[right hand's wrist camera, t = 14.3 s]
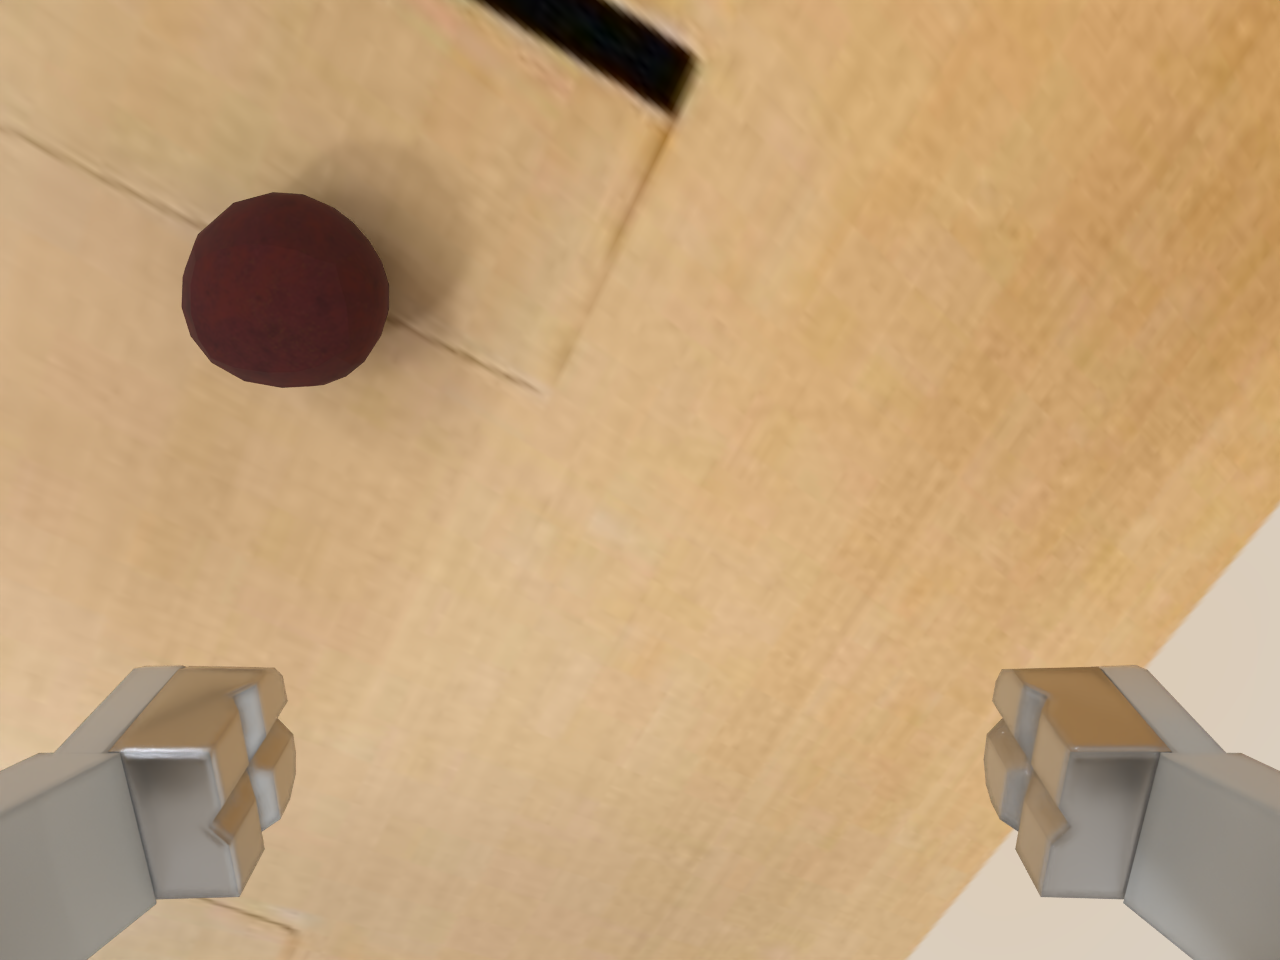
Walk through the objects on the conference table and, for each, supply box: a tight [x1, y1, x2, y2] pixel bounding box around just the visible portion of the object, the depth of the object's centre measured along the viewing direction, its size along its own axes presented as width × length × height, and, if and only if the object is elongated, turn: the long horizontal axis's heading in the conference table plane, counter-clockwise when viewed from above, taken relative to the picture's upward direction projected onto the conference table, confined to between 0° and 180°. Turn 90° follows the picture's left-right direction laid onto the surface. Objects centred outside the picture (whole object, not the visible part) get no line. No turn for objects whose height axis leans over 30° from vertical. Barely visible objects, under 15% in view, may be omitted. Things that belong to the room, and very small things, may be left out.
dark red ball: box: [182, 192, 389, 388], centre depth 35 cm, size 7×8×7 cm
